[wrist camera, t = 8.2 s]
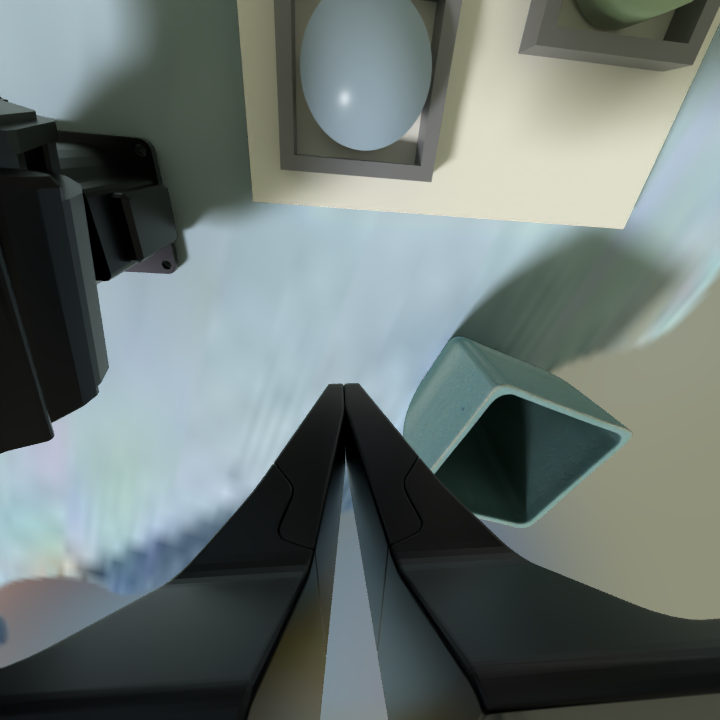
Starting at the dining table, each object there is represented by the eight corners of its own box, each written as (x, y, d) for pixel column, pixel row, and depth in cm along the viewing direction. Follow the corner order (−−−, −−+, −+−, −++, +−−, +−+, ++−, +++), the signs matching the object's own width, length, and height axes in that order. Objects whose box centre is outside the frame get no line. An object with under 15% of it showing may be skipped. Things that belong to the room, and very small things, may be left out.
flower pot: (546, 345, 25) (641, 435, 17) (476, 429, 29) (527, 532, 21) (444, 301, 22) (501, 382, 15) (383, 399, 26) (404, 503, 19)
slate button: (305, 144, 16) (300, 144, 13) (304, -4, 13) (298, -33, 11) (408, 154, 16) (419, 155, 14) (427, 12, 13) (444, -12, 11)
